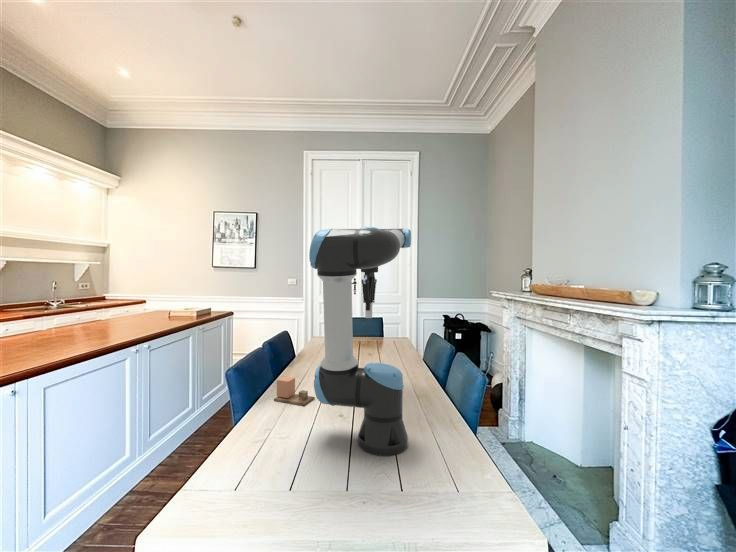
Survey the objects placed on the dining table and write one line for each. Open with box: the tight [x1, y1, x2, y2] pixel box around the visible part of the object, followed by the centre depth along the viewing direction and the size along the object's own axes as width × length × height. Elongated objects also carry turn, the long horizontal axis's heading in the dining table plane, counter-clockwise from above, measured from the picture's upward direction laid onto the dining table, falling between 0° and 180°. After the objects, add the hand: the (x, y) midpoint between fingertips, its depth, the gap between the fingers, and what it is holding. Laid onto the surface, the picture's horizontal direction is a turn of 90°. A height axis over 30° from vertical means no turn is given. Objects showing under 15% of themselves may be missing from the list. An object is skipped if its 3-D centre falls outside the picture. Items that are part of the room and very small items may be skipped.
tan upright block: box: [276, 376, 296, 398], centre depth 140 cm, size 5×5×7 cm
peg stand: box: [273, 389, 316, 407], centre depth 139 cm, size 14×8×8 cm, turn 69°
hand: (368, 317), depth 149 cm, fingers closed
